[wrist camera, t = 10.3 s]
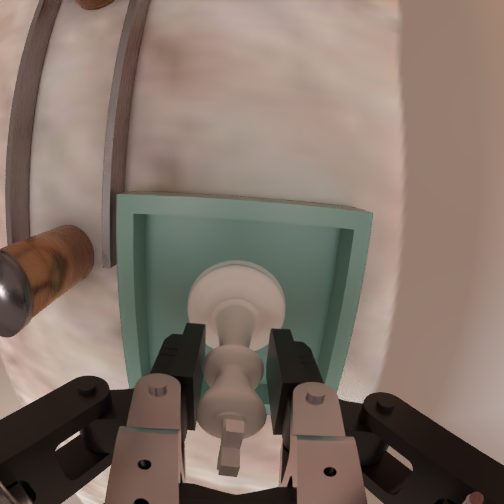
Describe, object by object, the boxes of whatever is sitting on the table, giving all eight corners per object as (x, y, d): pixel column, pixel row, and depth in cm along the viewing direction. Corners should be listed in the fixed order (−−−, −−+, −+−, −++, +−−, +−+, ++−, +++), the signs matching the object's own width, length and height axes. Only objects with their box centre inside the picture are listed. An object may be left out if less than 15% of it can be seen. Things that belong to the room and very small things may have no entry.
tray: (134, 190, 15) (116, 194, 12) (354, 207, 15) (373, 213, 13) (142, 377, 17) (131, 401, 15) (321, 388, 18) (330, 413, 15)
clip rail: (63, -19, 11) (12, -65, 4) (161, -39, 11) (132, -109, 5) (29, 276, 15) (-44, 320, 9) (124, 289, 16) (65, 353, 9)
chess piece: (183, 340, 16) (133, 497, 6) (194, 251, 15) (120, 374, 5) (274, 354, 16) (299, 516, 7) (295, 269, 15) (365, 406, 6)
